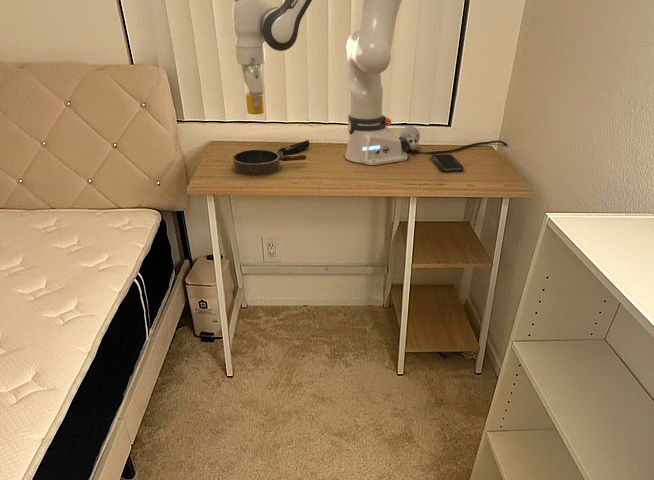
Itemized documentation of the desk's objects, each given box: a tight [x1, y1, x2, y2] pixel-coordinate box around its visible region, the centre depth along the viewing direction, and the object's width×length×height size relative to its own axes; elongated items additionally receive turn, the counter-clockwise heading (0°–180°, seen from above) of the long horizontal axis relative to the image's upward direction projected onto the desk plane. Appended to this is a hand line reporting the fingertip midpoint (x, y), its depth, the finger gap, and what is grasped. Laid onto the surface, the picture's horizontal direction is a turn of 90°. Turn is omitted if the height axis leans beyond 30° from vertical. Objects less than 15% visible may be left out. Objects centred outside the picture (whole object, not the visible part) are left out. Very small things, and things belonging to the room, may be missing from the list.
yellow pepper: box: [245, 92, 265, 115], centre depth 182 cm, size 5×5×6 cm
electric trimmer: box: [276, 139, 310, 157], centre depth 202 cm, size 4×16×3 cm, turn 142°
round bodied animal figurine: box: [399, 125, 421, 153], centre depth 203 cm, size 7×12×8 cm, turn 5°
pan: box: [231, 149, 281, 177], centre depth 187 cm, size 16×16×4 cm
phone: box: [430, 153, 464, 173], centre depth 194 cm, size 8×1×15 cm
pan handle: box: [280, 153, 307, 162], centre depth 189 cm, size 9×2×2 cm, turn 105°
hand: (255, 103), depth 182 cm, fingers closed on yellow pepper, 5 cm apart
